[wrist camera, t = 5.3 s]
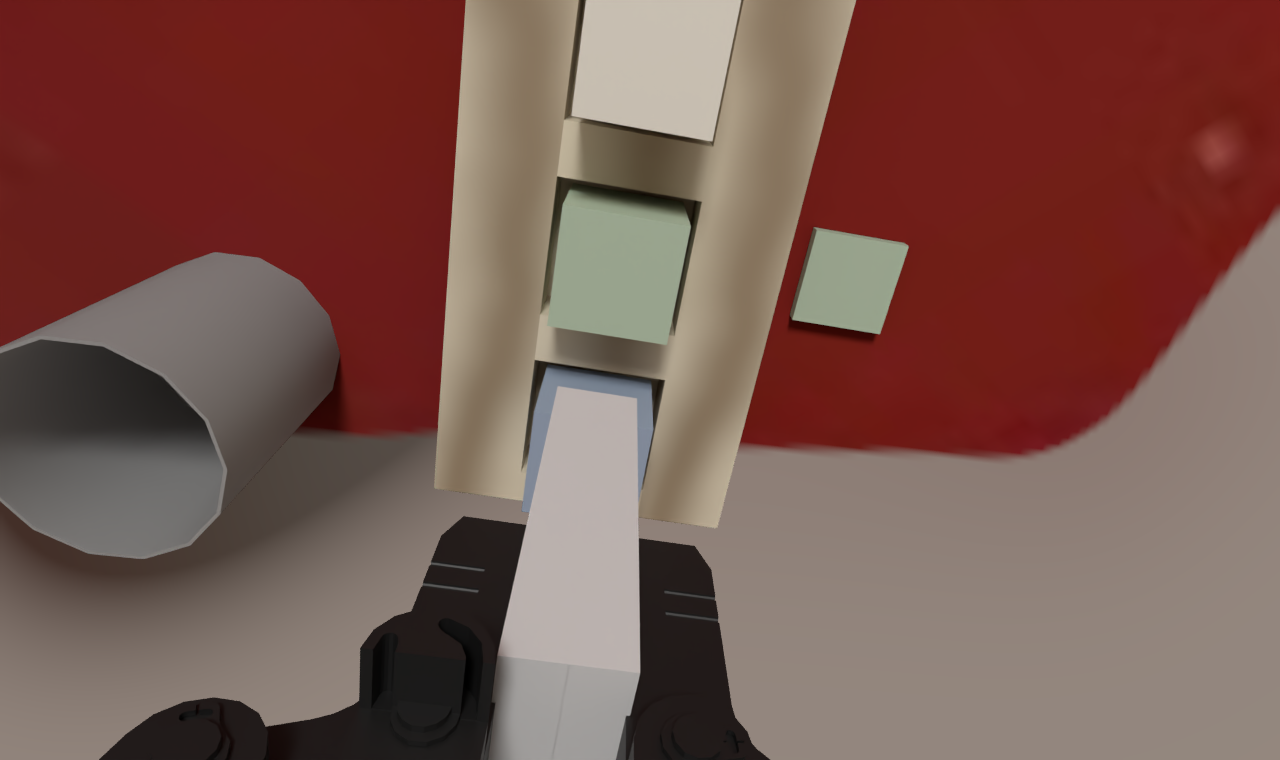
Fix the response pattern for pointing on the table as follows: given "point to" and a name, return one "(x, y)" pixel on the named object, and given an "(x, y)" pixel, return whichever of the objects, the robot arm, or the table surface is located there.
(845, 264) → the tile
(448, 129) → the table surface
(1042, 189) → the table surface
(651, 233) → the button sage
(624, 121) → the button cream
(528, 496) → the button blue
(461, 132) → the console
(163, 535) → the cup
